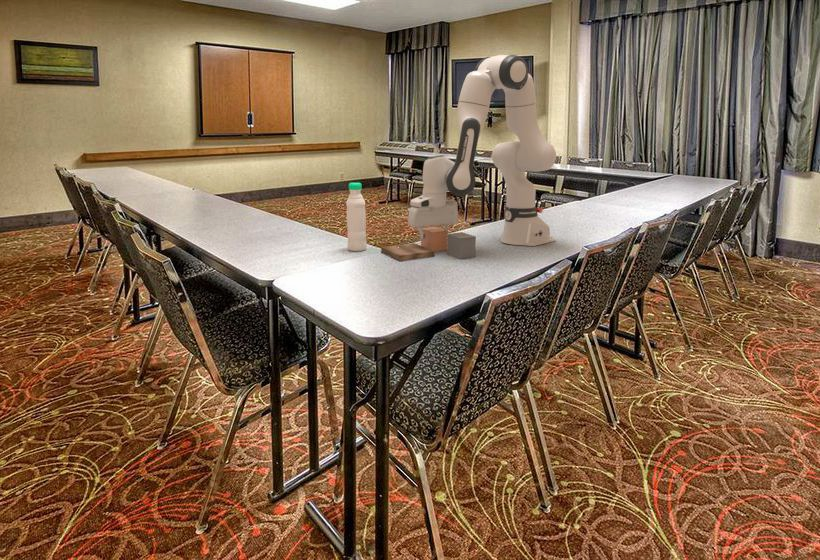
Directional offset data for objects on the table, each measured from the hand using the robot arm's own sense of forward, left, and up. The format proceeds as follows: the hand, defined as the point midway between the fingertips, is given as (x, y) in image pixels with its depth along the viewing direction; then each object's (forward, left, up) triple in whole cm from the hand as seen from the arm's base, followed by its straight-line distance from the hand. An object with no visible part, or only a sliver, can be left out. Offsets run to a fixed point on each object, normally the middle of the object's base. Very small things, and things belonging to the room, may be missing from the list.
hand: (433, 237), depth 195 cm
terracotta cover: (-1, -1, -5) cm, 5 cm away
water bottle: (+25, -14, -5) cm, 29 cm away
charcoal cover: (-4, +13, -5) cm, 15 cm away
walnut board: (+12, +2, -5) cm, 13 cm away
